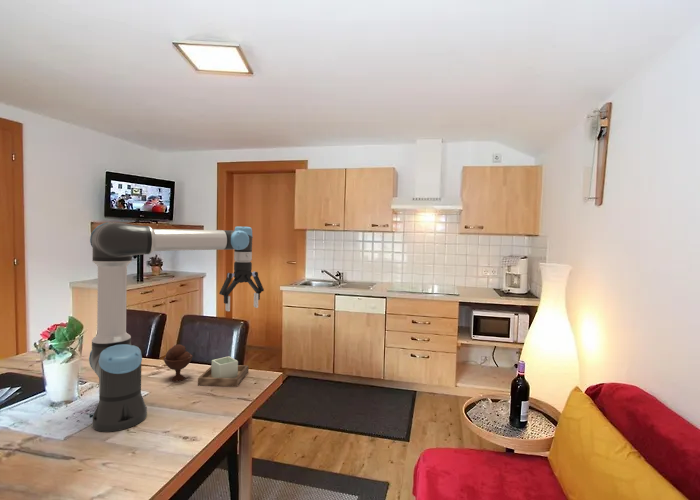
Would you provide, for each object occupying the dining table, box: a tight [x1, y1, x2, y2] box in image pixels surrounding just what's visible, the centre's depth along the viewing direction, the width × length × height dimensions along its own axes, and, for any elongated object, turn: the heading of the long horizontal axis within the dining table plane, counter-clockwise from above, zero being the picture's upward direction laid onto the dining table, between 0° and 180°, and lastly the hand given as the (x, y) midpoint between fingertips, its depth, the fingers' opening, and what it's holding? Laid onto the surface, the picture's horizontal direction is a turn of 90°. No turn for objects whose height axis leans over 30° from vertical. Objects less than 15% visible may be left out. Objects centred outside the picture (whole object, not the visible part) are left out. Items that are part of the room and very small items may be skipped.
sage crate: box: [211, 355, 239, 378], centre depth 156 cm, size 8×8×7 cm
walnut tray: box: [197, 364, 249, 388], centre depth 157 cm, size 16×16×3 cm
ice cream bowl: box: [163, 343, 193, 382], centre depth 155 cm, size 11×11×15 cm
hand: (242, 309), depth 163 cm, fingers open, 13 cm apart
